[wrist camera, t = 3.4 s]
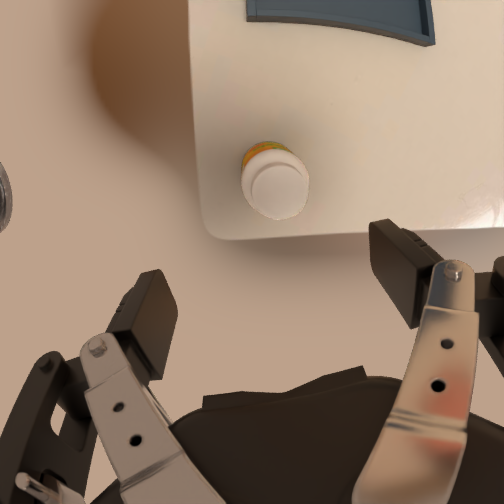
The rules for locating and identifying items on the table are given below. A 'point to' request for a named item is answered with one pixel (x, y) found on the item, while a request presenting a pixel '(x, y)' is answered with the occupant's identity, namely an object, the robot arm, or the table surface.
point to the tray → (353, 16)
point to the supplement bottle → (274, 181)
